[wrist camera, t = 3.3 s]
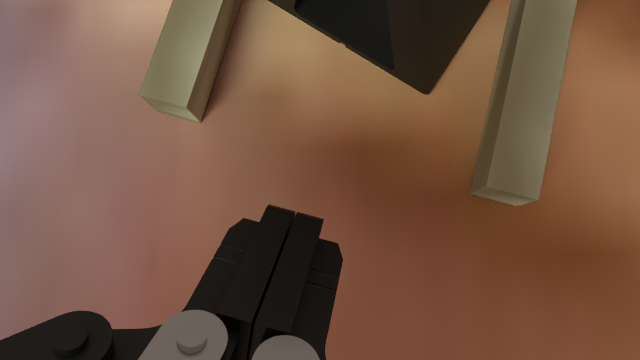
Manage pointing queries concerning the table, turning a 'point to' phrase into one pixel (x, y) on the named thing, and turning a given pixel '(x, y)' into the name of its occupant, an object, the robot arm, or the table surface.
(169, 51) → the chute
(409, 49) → the phone stand
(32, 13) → the table surface
